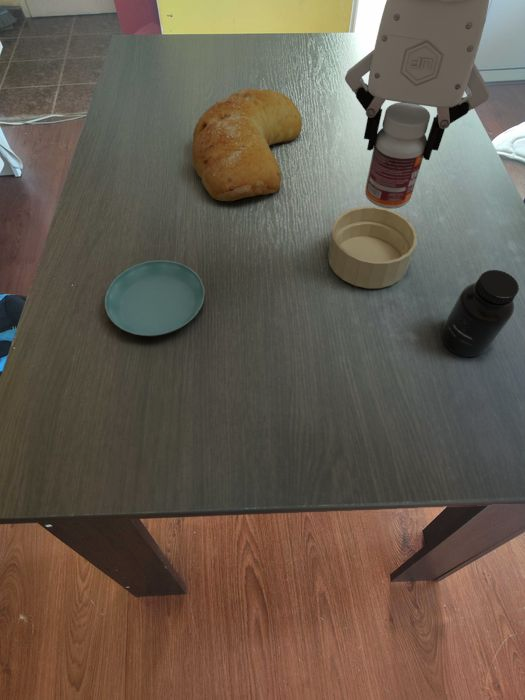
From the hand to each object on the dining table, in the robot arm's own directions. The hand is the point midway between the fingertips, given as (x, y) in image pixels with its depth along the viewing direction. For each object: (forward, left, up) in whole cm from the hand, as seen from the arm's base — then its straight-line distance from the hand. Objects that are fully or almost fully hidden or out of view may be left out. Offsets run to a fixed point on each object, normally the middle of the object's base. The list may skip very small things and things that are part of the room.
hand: (399, 147), depth 57 cm
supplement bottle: (-16, +9, -22) cm, 29 cm away
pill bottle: (0, 0, -7) cm, 7 cm away
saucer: (+29, +16, -22) cm, 40 cm away
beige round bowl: (0, -3, -22) cm, 22 cm away
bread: (+29, -25, -22) cm, 44 cm away
